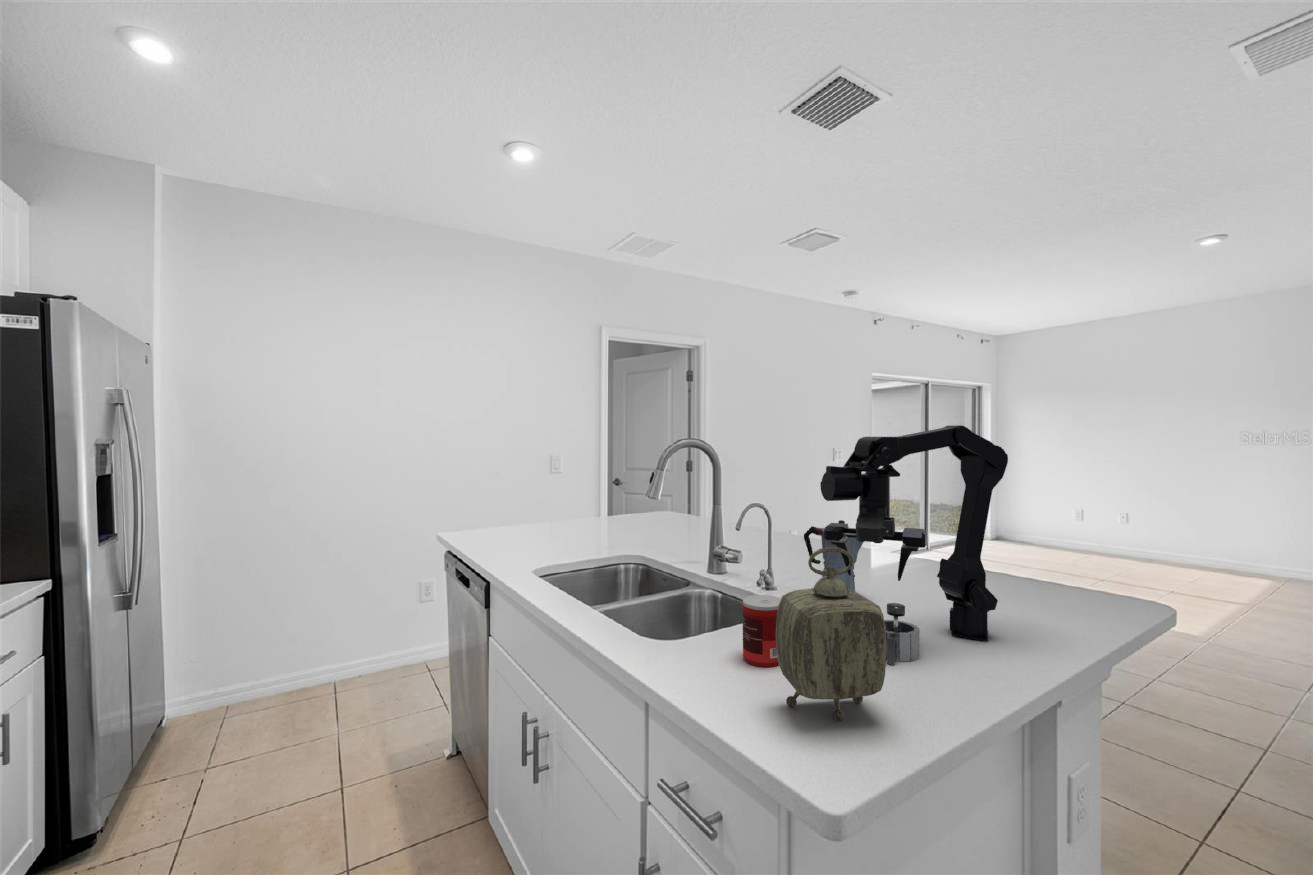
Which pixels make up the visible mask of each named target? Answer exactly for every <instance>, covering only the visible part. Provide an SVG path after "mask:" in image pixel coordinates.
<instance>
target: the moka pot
mask: <svg viewBox="0 0 1313 875" xmlns="http://www.w3.org/2000/svg"><path fill="white" fill-rule="evenodd" d="M837 523H843V524H846V521H845V520H843V519H842V520H841V519H840V520H838V521H837ZM824 528H825V527H816V526H812V525H811V527H809V528H808V529H807V530H806V531H805V533H803V540H804V541H805V546H806V548H807V553H808V556H809V557H810V556H811V555H812V554H813V553H814V552H813V547H812V543H811V538H810V535H812V534H813V535H815V536H821V538H820V539H821V549H822V548H826V547H836V548H837V546H836V545H833V544H831V541H832V540H825V539H824ZM848 538H850V545H851V556H852V558H853V565H852V575H851V576H850V575H849V574H848V571H847V572H845V573H843V574H840V575H835V576H834V577H837V578H839V579H841V580H842V581H843V582H844V583H845V584H846V586H847V587H848V589H849V590H852V591H854V592H856V582H855V577H856V574H855V572H854V571H855V564H856V563H857V558H858V555H859V552H860V550H861V548H862V546H863V544H864V542H859V541H857V540H856V538H854V537H848ZM822 559H823V560H824V561H823V566H824V567H823V570H822V571H827V567H828V566H830V565H831V566H833V567H834V571H836V570H841V569H844V568H846V565H845V562H844V560H843V557H842V555H841V553H840V552H824V553H822ZM821 562H822V561H821V560H820V559H816V558H815V557H814V558H813V560H812V562H811V564H816V565H820V564H821ZM822 577H827V576H824V575H821V578H822Z"/></svg>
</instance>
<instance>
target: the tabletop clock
mask: <svg viewBox="0 0 1313 875" xmlns="http://www.w3.org/2000/svg"><path fill="white" fill-rule="evenodd" d="M824 552H841V553H843V554H845V555H846V556H848V558H849V559H850V564H849V566H847V567H846V568H844V569H841V570H836V571H834V567H833V566H831V565H830V566H828V567H827V571H823V570H822V569H821V570H820V569H817V568H815V567H814V566H813V563H812V560H813V558H815V557H817V556H818V555H821V554H823V553H824ZM807 564H808V567H809V569H810V570H811V571H812V572H813V573H815V574H817V575H820V576H821V577H820V578H819V579H818V580H817V581H816V582H815V584H814V586H813V588H812V587H811V588H803V589H796V590H792V591H789V592H787V593H785V594H783V595H782V596H781V601H780V603H779V607H778V612H777V621H776V648H777V658H778V663H779V665H778V667H779V670H780V671H781V673H782V675H783V677H784V678H785V679H786V680H787V682H789V685H791V686H792V688H794V690H795V693H794V694H793V695H788V696H787V697H786V699H785V700H786V701H785V702H786V704H787V706H788V707H789V708H794V707H796V705H797V703H798V700H797V698H799V696H801V697H804V698H806V699H811V700H833V703H834V708H835V709H833V711H832V714H831V715H832V718H833V719H834V720H836V721H837V722H840V721H842V720H844V717H845V715H844V712H843V710H842V709H840V700H846V699H852V700H853V701H852V702H854V703H856V704H860V703H862V701H863V699H864V697H868V696H873V695H876V694H877V693H879V692H881V691H882V689H883V686H884V684H885V677H886V667H887V666H886V665H887V659H886V654H887V642H886V628H885V622H884V620H885V618H884V613H883V612H882V608H881V607H880V606H879V605H878V604H877V603H875V602H873V601H872V600H870V599H869V598H866V597H865V596H863V595H861V594H860V593H858V592H856V591H855V592H854V591H852V590H849V589H848V587H847V586H846V584H845V583H844V582H843V581H842V580H841V579H839V578H837V577H834V576H835V575H840V574H843V573H845V572H847V571H848V570H849V569H850V568H851V567H852V565H853V558H852V556H851V554H850V553H849V552H847V551H846V550H844V549H842V548H836V547H826V548H822V547H821V548H819V549H817V550H815V551H814V552H813V554H812V555H811V556H809V558H808V563H807ZM822 575H824V576H827V577H822Z"/></svg>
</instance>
